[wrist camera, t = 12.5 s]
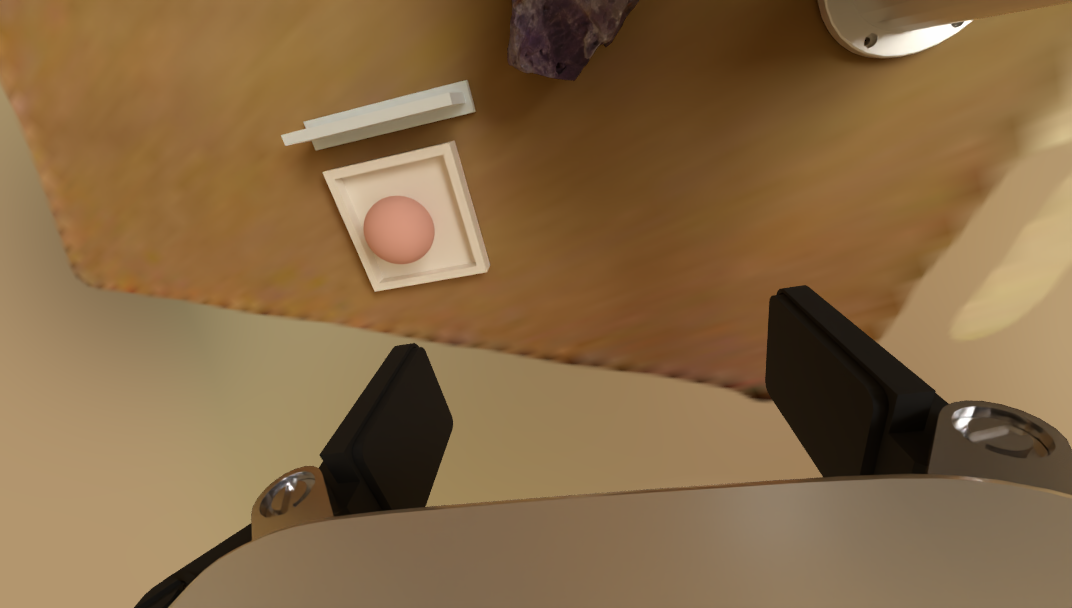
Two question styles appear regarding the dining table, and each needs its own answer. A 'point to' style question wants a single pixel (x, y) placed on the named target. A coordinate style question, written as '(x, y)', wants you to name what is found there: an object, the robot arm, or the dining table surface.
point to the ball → (399, 229)
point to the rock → (562, 33)
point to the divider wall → (386, 116)
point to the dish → (435, 187)
